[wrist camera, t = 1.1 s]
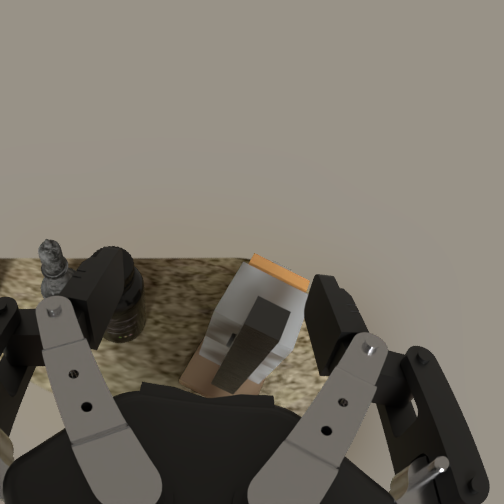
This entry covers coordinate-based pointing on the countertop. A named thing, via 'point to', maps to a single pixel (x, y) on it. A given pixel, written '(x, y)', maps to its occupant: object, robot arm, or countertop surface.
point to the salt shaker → (53, 268)
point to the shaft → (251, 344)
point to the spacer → (279, 272)
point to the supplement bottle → (127, 305)
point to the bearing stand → (229, 323)
